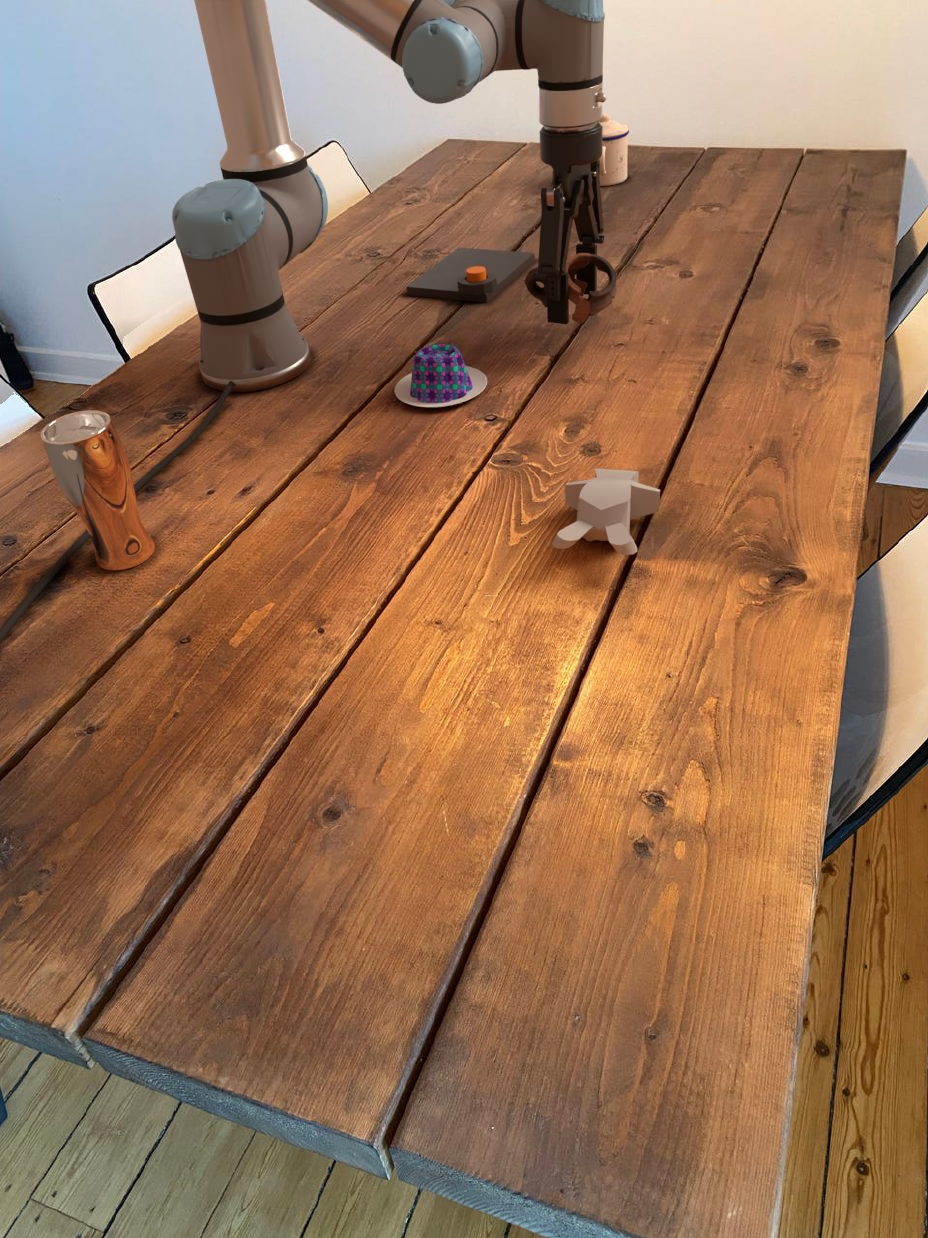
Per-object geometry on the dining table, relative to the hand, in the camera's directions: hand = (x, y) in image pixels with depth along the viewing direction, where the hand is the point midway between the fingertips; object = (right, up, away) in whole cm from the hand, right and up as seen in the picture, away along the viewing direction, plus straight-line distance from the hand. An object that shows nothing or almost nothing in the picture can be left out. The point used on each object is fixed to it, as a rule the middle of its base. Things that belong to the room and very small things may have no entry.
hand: (572, 307), depth 127 cm
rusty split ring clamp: (0, -1, 0) cm, 1 cm away
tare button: (-13, +10, +17) cm, 23 cm away
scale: (-13, +13, +25) cm, 31 cm away
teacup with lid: (+13, +43, +58) cm, 74 cm away
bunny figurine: (0, -33, -33) cm, 47 cm away
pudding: (-17, -13, -5) cm, 22 cm away
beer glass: (-50, -35, -28) cm, 67 cm away
